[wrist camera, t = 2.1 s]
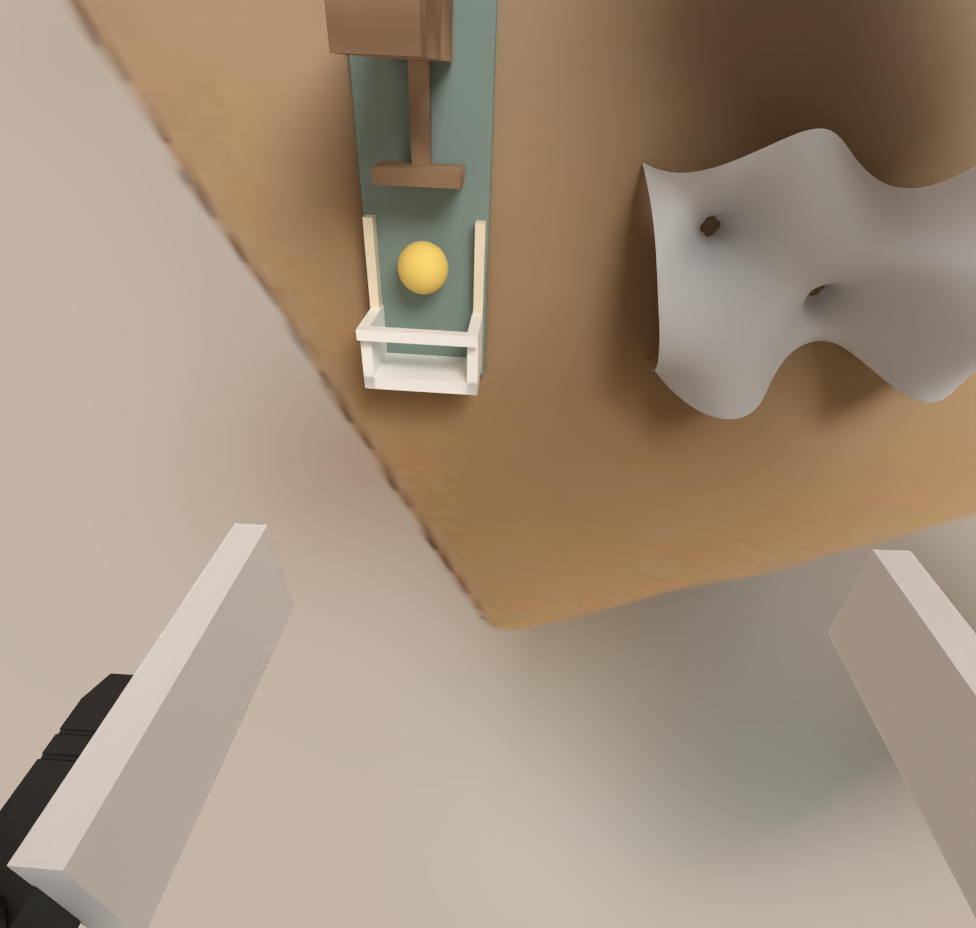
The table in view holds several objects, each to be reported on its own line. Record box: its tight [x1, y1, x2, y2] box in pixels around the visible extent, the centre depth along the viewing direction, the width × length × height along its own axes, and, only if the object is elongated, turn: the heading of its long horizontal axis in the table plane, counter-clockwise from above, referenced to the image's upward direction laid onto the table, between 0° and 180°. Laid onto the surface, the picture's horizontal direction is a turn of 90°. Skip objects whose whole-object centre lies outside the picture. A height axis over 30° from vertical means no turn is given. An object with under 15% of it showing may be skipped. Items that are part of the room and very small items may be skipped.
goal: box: [356, 305, 483, 395], centre depth 42 cm, size 5×9×5 cm, turn 88°
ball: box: [398, 241, 448, 294], centre depth 39 cm, size 4×4×4 cm
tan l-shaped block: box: [324, 0, 465, 189], centre depth 30 cm, size 10×6×12 cm, turn 178°
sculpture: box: [643, 128, 976, 419], centre depth 36 cm, size 25×19×10 cm
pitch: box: [349, 0, 497, 375], centre depth 38 cm, size 27×9×2 cm, turn 178°
